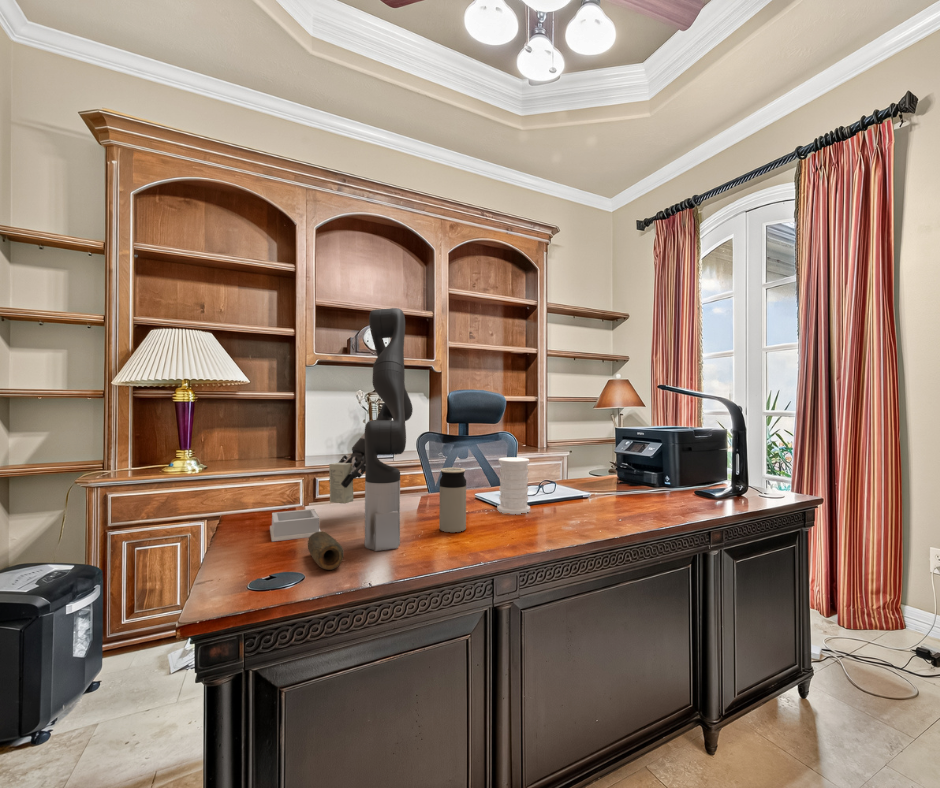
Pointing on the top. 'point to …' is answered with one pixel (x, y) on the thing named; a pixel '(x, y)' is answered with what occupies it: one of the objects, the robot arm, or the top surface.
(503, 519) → the top surface
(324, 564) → the brown hollow cylinder
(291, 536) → the bottle stand
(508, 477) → the decorative container
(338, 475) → the skincare box
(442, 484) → the travel mug
